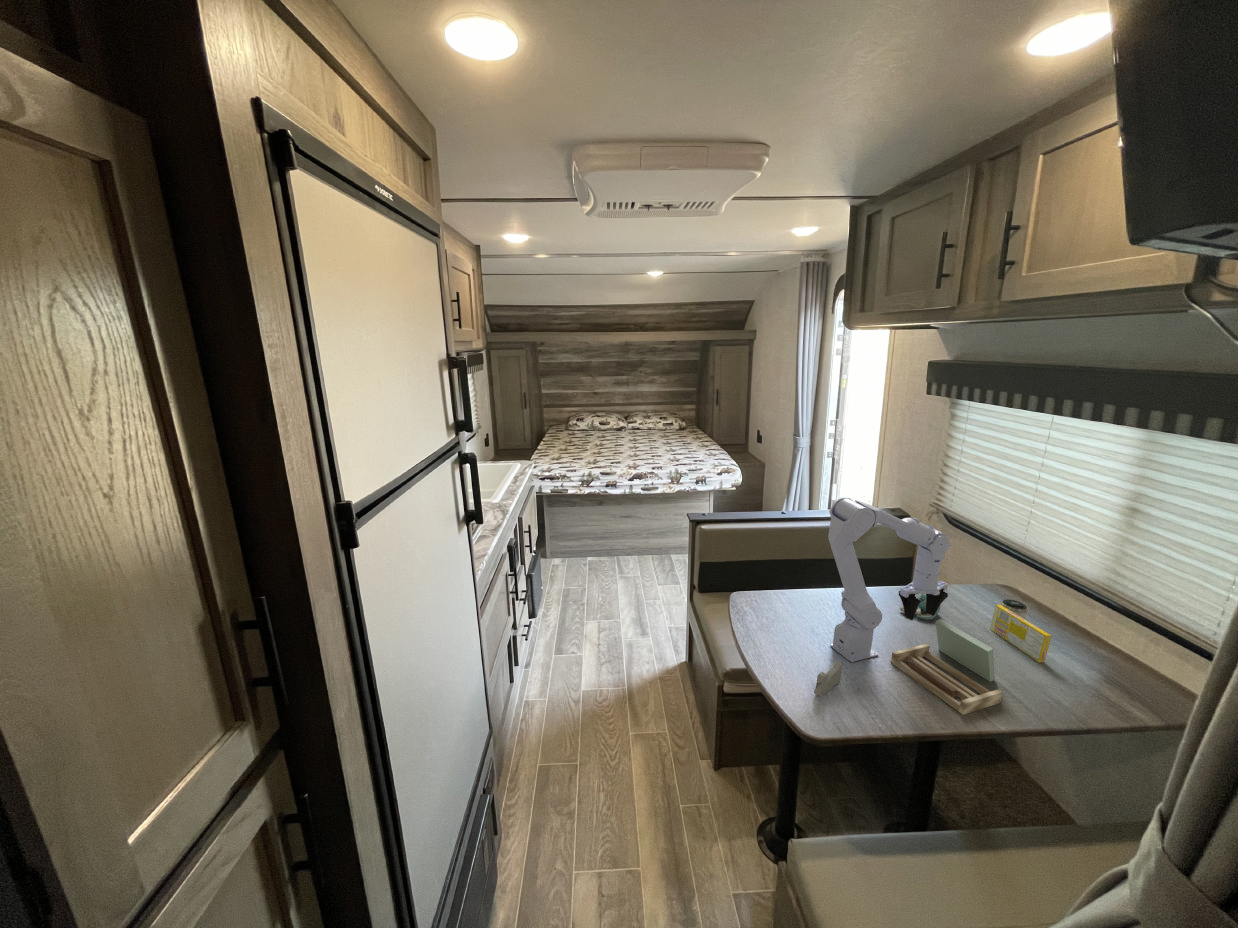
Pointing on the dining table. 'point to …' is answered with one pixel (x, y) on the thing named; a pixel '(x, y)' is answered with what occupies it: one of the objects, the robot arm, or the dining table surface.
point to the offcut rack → (946, 680)
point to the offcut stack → (933, 679)
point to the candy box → (1020, 633)
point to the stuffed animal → (923, 609)
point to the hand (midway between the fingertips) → (919, 615)
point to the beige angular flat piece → (828, 679)
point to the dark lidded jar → (1015, 607)
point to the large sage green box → (966, 650)
